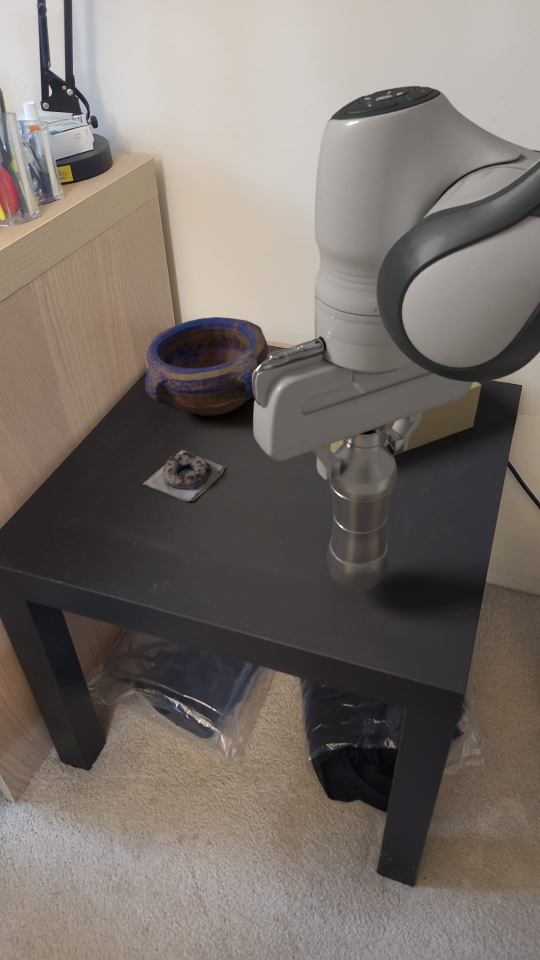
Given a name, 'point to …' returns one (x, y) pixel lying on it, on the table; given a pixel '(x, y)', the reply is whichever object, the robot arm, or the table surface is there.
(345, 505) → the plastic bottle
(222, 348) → the bowl
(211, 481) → the donut
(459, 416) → the divided box
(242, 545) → the table surface
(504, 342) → the robot arm
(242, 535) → the table surface
